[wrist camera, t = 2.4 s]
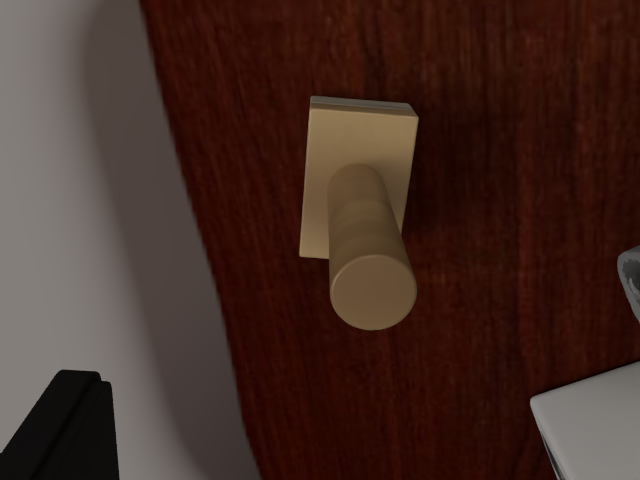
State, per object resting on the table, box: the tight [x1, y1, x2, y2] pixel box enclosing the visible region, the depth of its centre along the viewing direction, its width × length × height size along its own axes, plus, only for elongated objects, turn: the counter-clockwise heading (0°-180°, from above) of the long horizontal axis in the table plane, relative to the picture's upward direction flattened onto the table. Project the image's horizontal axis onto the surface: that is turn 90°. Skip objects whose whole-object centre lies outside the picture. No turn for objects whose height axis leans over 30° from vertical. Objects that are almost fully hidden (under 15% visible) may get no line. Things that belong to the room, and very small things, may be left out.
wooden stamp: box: [299, 96, 419, 330], centre depth 19 cm, size 6×4×11 cm, turn 176°
